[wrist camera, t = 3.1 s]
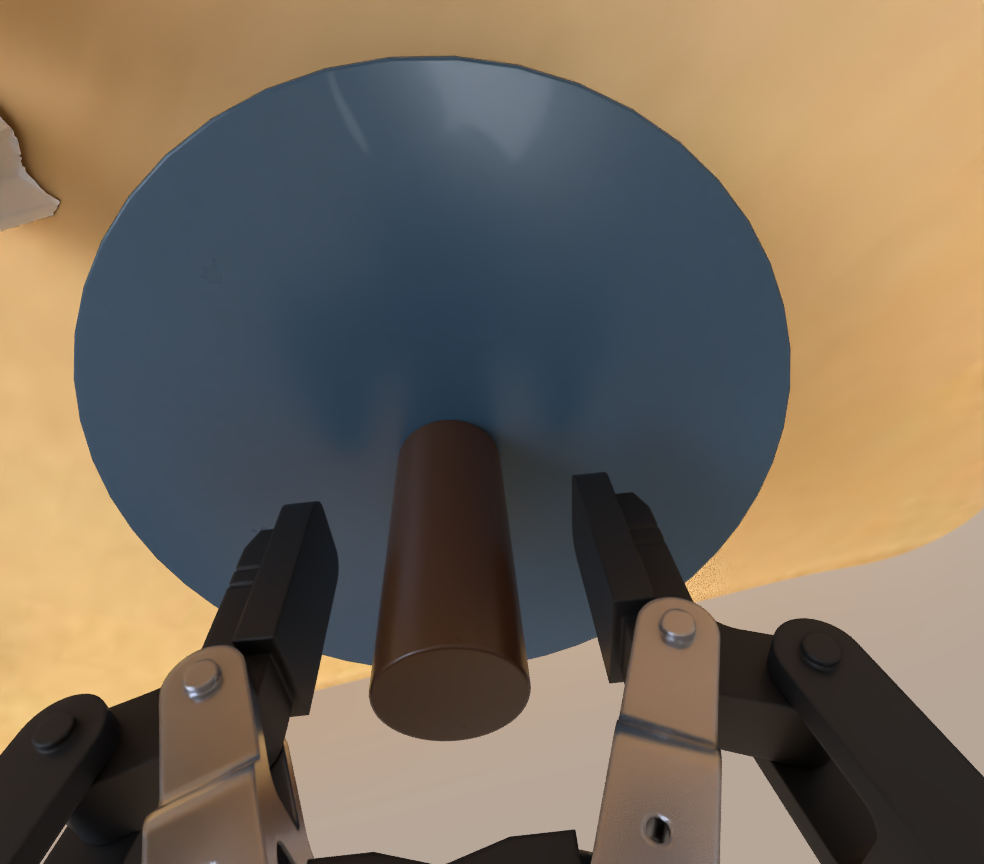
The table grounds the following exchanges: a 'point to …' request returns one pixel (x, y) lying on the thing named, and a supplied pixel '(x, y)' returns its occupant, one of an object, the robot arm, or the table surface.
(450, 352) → the lid
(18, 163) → the shaker set
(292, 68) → the table surface
